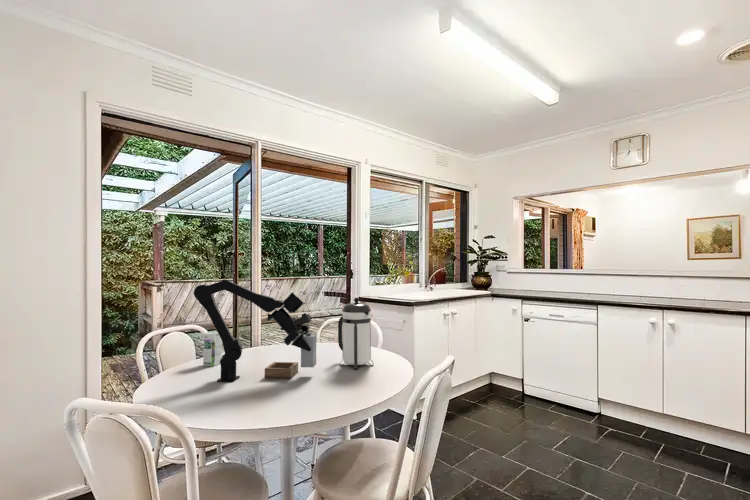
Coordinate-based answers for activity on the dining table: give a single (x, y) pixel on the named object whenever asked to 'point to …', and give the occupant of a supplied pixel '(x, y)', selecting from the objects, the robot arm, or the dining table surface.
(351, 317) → the coffee press
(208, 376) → the dining table surface
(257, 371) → the dining table surface
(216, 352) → the syrup box
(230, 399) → the dining table surface
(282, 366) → the socket
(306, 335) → the plug
